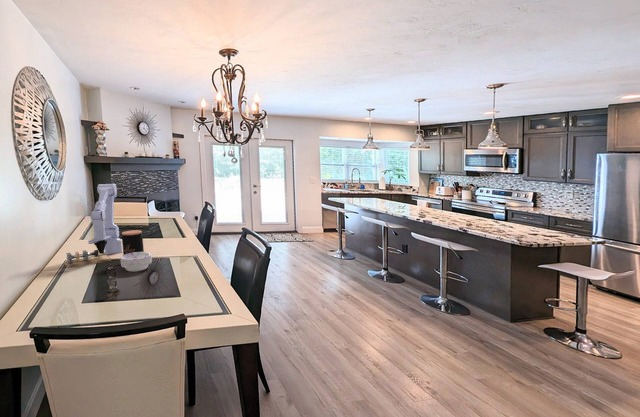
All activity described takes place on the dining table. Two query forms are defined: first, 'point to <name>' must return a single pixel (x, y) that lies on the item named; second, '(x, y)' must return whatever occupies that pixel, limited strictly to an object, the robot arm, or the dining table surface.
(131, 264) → the paper bowls
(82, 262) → the base board
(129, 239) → the coffee jar
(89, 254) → the shaft
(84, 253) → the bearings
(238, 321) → the dining table surface
